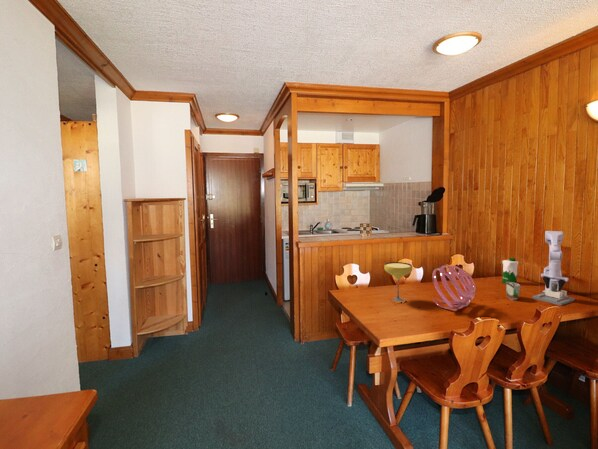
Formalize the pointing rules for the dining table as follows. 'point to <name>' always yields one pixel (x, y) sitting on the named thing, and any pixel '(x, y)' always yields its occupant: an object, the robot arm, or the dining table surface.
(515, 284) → the food container
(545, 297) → the base
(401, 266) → the cocktail glass
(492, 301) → the dining table surface
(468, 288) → the spiral basket
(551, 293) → the sliding jaw
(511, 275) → the milk carton
